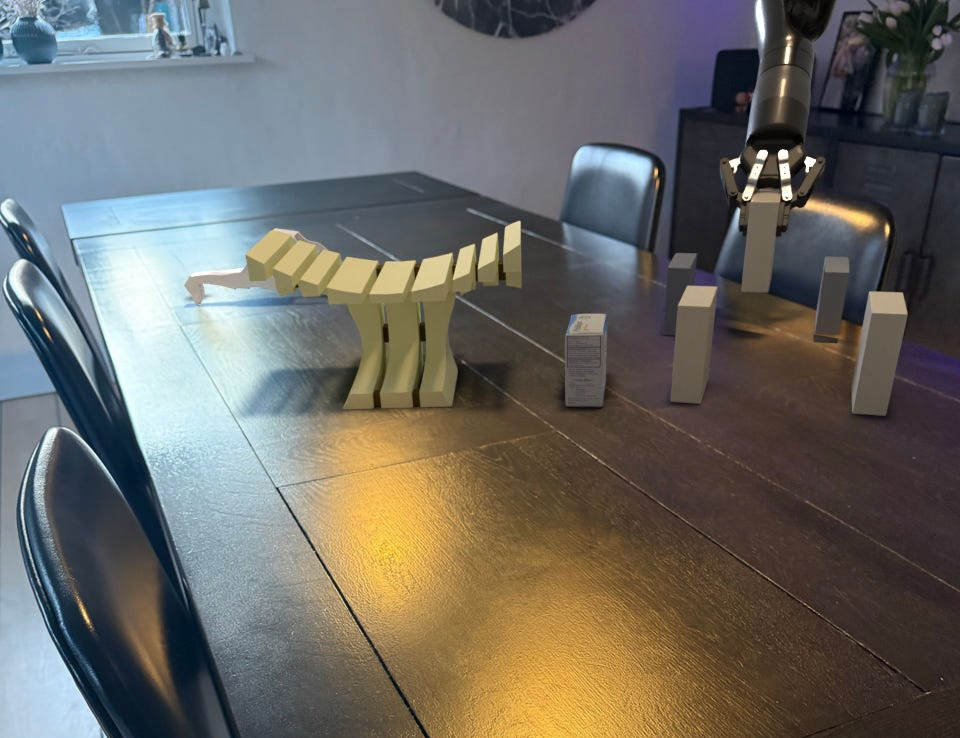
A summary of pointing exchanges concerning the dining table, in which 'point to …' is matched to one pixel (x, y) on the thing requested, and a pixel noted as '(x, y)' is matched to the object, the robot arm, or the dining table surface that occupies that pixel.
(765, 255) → the beige rectangular block
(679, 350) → the cream blocks
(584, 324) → the medicine box
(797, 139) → the robot arm
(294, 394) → the dining table surface
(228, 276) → the horse figurine
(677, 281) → the grey blocks
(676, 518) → the dining table surface
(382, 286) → the slatted curved stool
